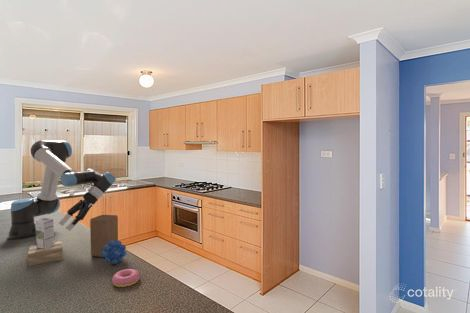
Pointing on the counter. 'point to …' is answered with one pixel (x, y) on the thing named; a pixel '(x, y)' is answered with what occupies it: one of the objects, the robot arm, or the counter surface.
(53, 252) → the birch block
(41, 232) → the syrup box
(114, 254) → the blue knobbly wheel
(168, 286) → the counter surface
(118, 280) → the doughnut
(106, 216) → the wooden block
